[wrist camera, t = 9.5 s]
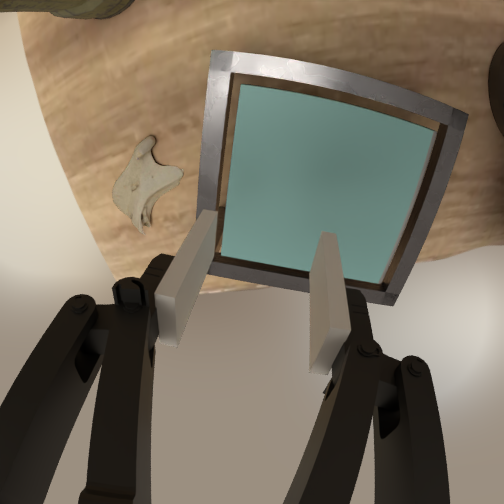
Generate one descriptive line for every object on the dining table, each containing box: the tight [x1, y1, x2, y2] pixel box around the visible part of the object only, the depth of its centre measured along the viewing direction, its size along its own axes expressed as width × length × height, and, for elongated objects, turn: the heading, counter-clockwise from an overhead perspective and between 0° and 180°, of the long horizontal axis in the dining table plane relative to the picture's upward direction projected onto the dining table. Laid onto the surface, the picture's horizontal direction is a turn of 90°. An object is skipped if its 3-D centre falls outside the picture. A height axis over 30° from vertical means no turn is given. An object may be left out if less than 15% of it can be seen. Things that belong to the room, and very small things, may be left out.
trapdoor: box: [221, 84, 437, 284], centre depth 23 cm, size 14×14×1 cm
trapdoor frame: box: [196, 50, 469, 306], centre depth 27 cm, size 19×19×10 cm
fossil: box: [112, 136, 184, 235], centre depth 34 cm, size 7×11×4 cm, turn 143°
